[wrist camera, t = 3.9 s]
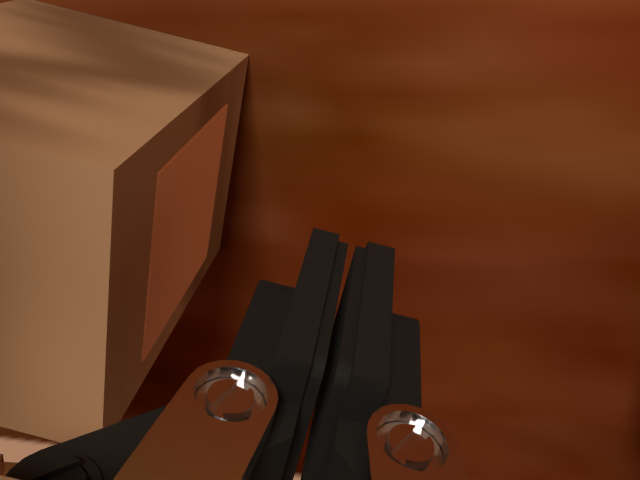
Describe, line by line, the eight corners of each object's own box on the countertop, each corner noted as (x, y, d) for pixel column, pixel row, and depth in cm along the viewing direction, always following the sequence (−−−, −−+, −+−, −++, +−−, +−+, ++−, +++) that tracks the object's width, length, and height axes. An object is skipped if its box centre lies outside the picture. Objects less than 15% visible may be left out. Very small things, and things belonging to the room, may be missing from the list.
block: (250, 54, 15) (117, 170, 8) (221, 249, 18) (103, 454, 11) (25, -3, 16) (-289, 66, 9) (32, 200, 19) (-198, 373, 12)
